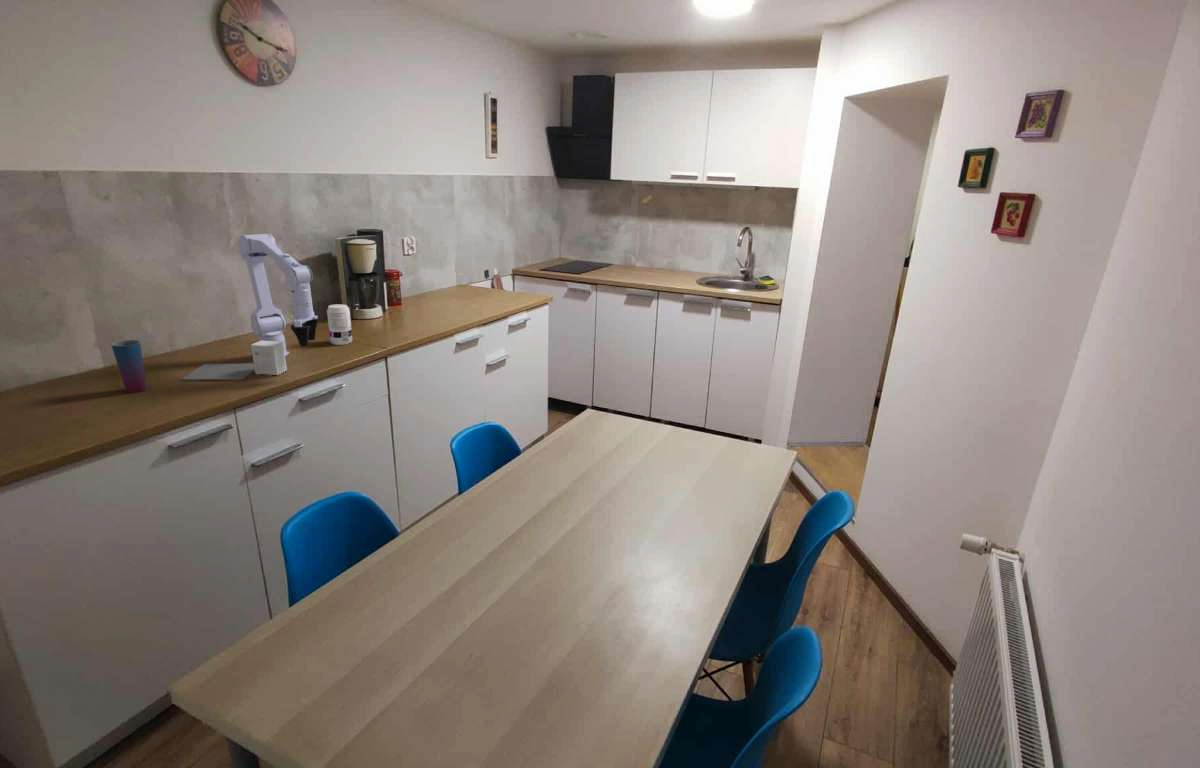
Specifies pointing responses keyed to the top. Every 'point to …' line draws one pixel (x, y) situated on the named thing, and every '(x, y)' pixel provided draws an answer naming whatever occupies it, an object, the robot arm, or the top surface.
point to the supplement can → (339, 324)
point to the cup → (130, 364)
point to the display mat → (220, 372)
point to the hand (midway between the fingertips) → (307, 342)
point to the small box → (269, 357)
